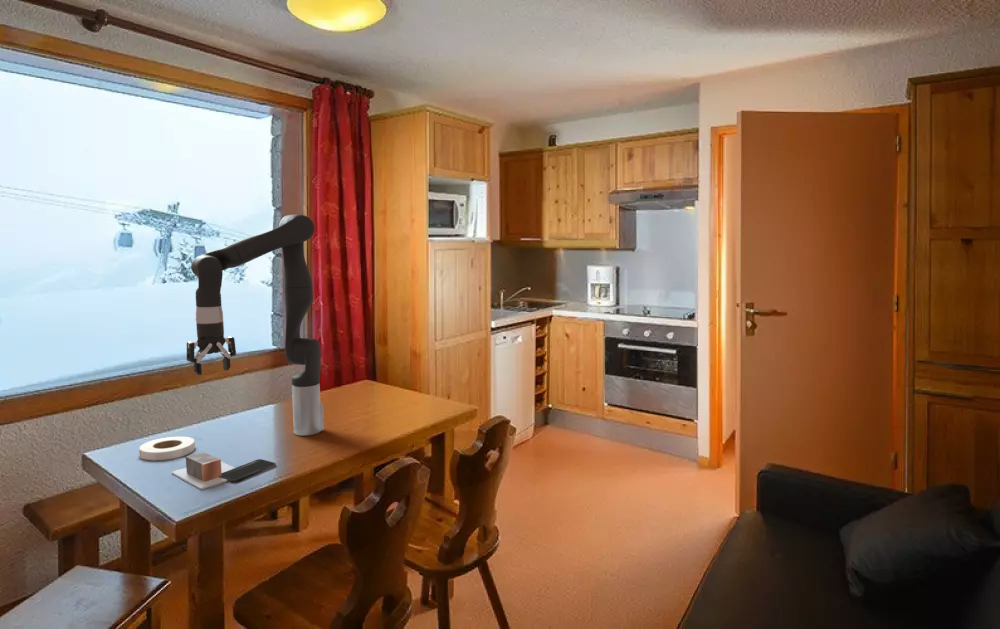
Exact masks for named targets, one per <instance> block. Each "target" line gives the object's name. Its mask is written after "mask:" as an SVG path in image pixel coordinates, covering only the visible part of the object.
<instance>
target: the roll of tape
mask: <svg viewBox="0 0 1000 629" xmlns="http://www.w3.org/2000/svg"><path fill="white" fill-rule="evenodd" d="M195 449H196V444H195V439H194V438H193V437H189V436H168V437H167V436H166V437H162V438H157V439H152V440H149V441H146V442H145V443H142V444H141V445H140V446H139V448H138V452H139V457H140V459H142V460H147V461H164V460H165V461H166V460H171V459H177V458H181V457H184V456H186V455H188V454H189V455H190V454H191V453H192V452H193V451H194V450H195Z"/></svg>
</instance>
